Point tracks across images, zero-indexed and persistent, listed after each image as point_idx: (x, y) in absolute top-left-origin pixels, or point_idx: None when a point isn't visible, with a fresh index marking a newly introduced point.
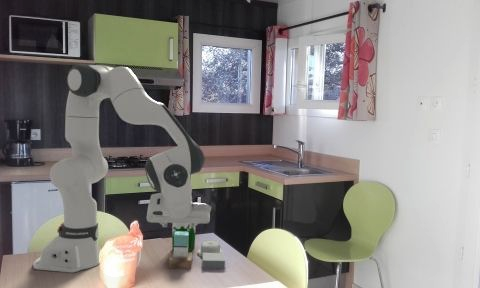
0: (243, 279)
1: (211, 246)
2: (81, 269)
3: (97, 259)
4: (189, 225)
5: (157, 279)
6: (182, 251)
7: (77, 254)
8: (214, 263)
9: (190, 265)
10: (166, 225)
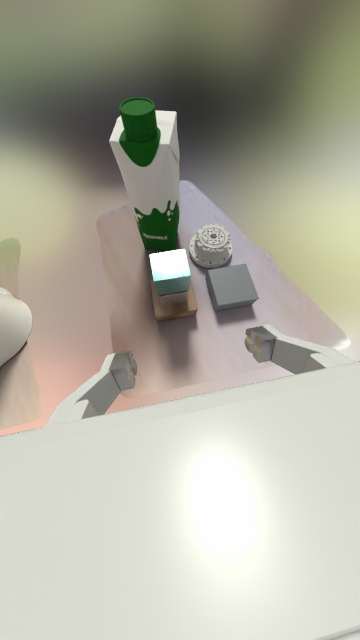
0: None
1: (218, 247)
2: (1, 364)
3: (18, 331)
4: (170, 202)
5: (150, 375)
6: (177, 297)
7: None
8: (238, 303)
9: (195, 313)
10: (132, 383)
